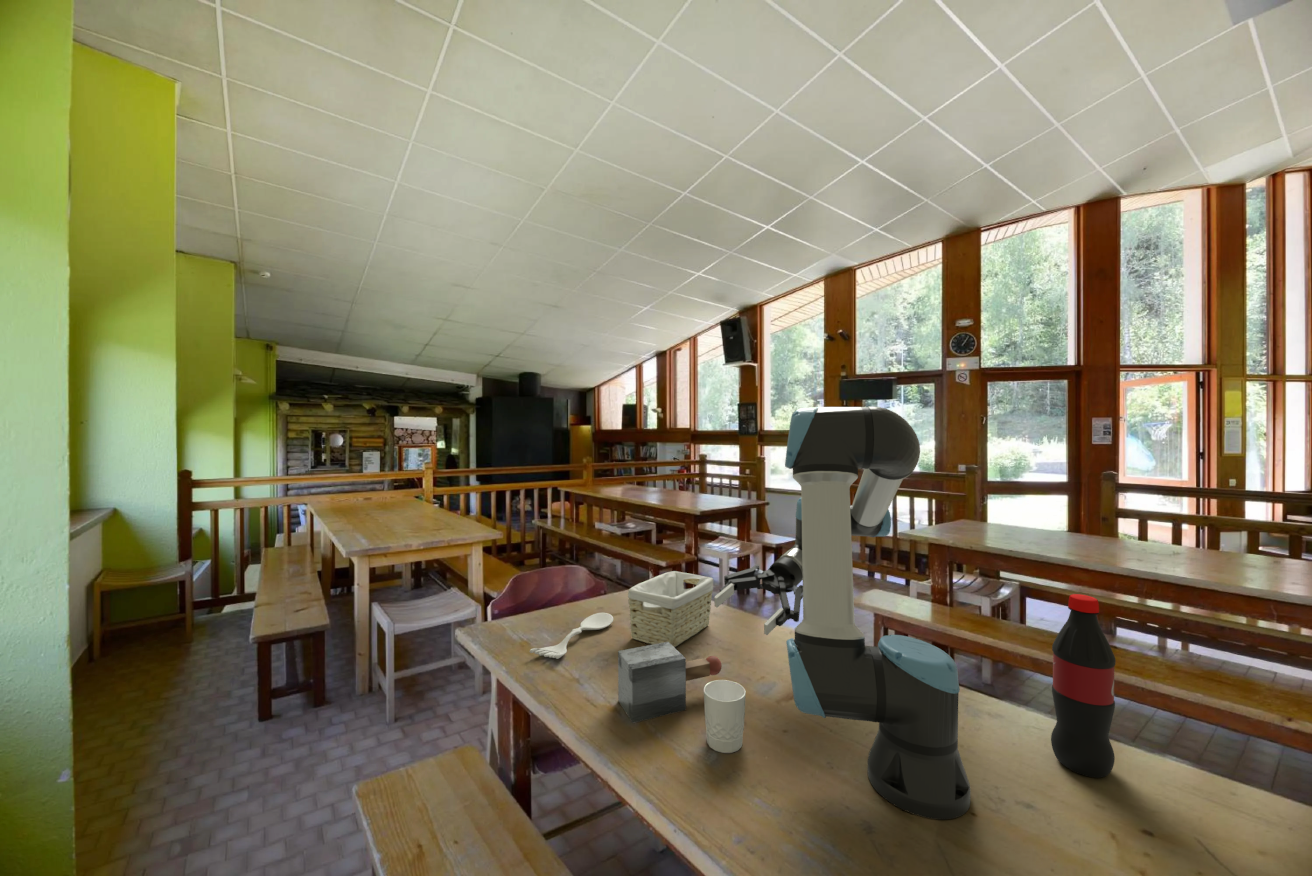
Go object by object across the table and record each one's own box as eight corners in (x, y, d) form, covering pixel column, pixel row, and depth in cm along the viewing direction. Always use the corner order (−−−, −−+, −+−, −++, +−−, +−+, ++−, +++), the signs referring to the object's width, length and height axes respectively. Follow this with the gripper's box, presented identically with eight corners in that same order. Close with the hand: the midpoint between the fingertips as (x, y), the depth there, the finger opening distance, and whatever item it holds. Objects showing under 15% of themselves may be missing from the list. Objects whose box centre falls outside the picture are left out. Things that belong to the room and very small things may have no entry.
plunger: (716, 668, 116) (716, 651, 116) (724, 676, 112) (724, 659, 112) (662, 680, 110) (662, 662, 110) (670, 689, 107) (670, 670, 107)
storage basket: (671, 614, 160) (670, 568, 160) (716, 625, 151) (716, 576, 151) (625, 640, 141) (625, 588, 140) (673, 655, 132) (673, 599, 131)
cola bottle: (1114, 765, 88) (1116, 595, 87) (1114, 790, 82) (1116, 608, 81) (1053, 744, 94) (1054, 585, 93) (1048, 767, 87) (1050, 596, 87)
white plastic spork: (528, 661, 128) (528, 648, 128) (593, 618, 157) (593, 607, 157) (557, 668, 125) (557, 655, 125) (618, 623, 154) (618, 611, 154)
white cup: (745, 758, 90) (745, 703, 90) (701, 752, 92) (701, 699, 91) (746, 732, 98) (746, 681, 98) (705, 727, 99) (705, 677, 99)
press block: (668, 689, 114) (668, 641, 114) (685, 710, 106) (685, 658, 105) (618, 700, 109) (618, 651, 109) (632, 723, 101) (632, 669, 101)
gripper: (836, 603, 118) (788, 656, 104) (748, 563, 135) (697, 604, 121) (838, 577, 115) (789, 628, 102) (748, 539, 132) (696, 579, 118)
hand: (739, 615), depth 111 cm, fingers open, 13 cm apart
